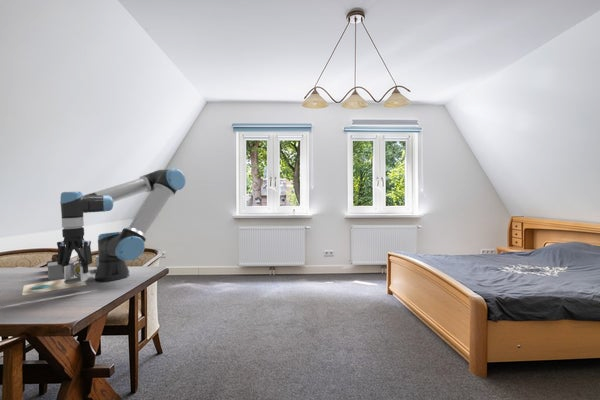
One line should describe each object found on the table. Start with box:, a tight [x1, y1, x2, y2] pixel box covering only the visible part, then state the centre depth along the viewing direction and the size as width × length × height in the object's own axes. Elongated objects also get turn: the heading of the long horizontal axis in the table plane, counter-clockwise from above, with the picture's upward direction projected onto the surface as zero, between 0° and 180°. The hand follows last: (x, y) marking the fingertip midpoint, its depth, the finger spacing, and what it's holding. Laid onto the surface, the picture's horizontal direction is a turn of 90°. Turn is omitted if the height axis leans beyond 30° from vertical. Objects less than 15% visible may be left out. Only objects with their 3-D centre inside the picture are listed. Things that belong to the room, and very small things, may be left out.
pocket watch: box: [64, 257, 82, 284], centre depth 131 cm, size 8×8×10 cm
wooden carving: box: [46, 253, 58, 268], centre depth 169 cm, size 16×5×10 cm, turn 68°
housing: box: [47, 259, 75, 281], centre depth 155 cm, size 10×10×8 cm
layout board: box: [21, 277, 87, 296], centre depth 140 cm, size 22×19×1 cm
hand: (76, 280), depth 131 cm, fingers closed on pocket watch, 7 cm apart
